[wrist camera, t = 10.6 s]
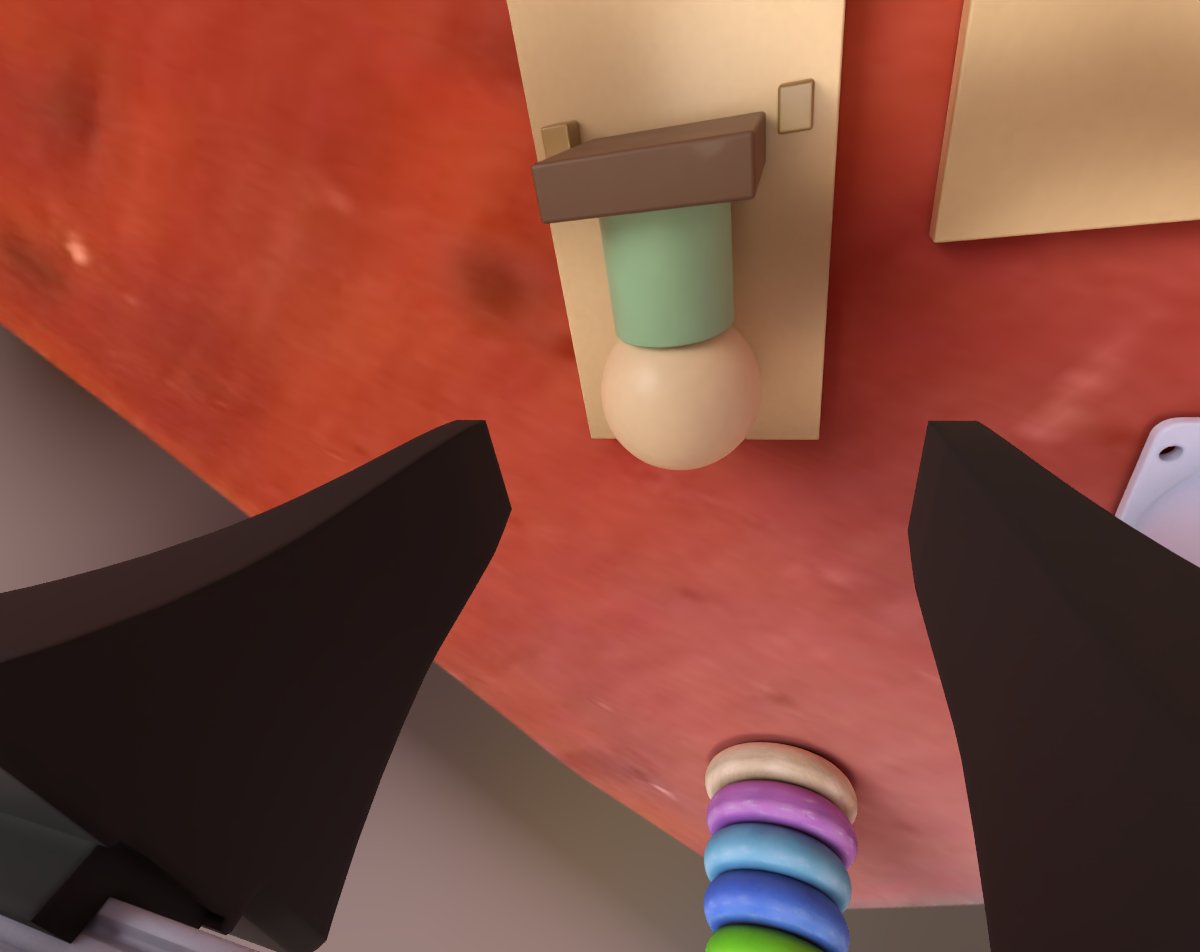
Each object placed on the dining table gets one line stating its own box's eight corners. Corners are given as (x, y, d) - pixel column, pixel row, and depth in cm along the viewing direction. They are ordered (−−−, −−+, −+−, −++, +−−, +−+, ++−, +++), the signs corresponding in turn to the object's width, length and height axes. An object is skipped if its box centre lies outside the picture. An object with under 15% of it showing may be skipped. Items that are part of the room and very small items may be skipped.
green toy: (765, 420, 19) (757, 505, 16) (631, 421, 20) (596, 499, 17) (766, 110, 14) (754, 129, 11) (590, 139, 16) (528, 164, 12)
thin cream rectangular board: (818, 428, 20) (819, 455, 18) (596, 428, 22) (583, 451, 21) (857, -226, 11) (864, -262, 10) (497, -109, 14) (465, -126, 13)
